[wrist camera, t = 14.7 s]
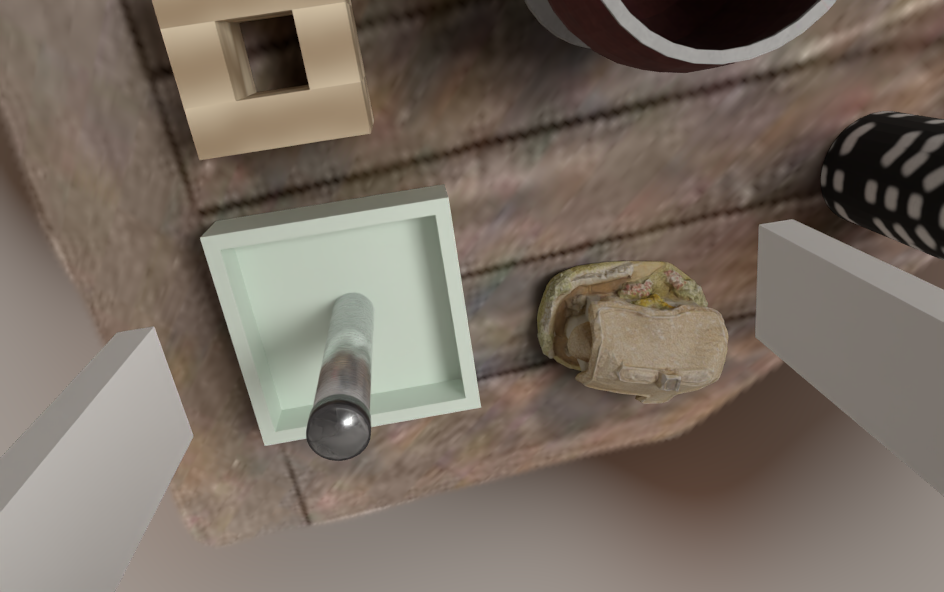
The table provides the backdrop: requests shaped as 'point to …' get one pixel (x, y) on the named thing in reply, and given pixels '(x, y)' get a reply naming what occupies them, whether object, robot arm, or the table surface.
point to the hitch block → (231, 82)
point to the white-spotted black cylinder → (890, 178)
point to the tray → (325, 280)
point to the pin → (344, 382)
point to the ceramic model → (633, 329)
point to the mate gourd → (678, 29)
